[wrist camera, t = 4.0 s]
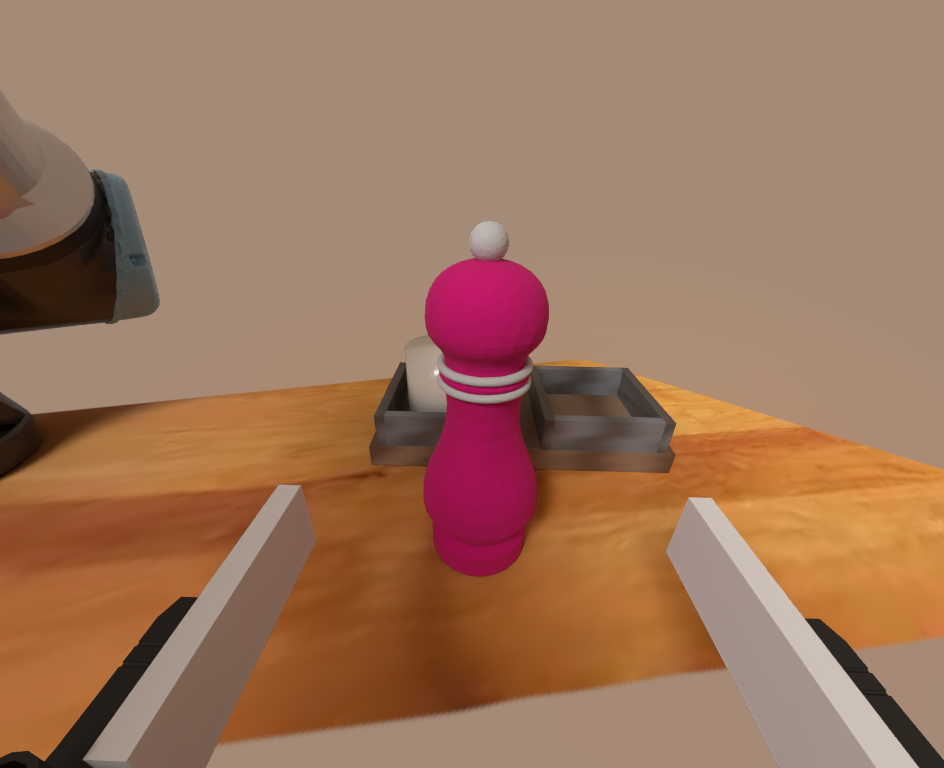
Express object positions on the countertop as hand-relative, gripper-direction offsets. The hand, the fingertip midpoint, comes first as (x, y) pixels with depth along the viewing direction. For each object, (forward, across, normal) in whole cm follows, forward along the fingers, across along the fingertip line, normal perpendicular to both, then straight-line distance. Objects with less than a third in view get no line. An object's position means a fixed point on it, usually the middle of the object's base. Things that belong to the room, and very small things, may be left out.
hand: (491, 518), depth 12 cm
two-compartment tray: (+21, +3, -11) cm, 24 cm away
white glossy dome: (+21, -4, -9) cm, 23 cm away
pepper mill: (+8, 0, -11) cm, 14 cm away
